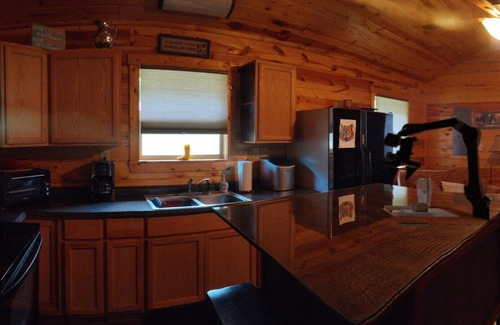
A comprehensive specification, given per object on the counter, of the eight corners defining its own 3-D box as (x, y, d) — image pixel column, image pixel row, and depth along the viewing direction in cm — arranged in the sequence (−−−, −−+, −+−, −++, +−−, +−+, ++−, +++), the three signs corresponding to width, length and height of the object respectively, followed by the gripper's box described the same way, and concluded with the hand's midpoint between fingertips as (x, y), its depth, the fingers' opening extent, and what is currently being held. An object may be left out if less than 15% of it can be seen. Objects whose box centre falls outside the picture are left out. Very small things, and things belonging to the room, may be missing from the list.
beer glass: (428, 207, 166) (428, 178, 165) (434, 210, 159) (435, 179, 158) (414, 207, 167) (414, 178, 166) (419, 209, 160) (420, 179, 159)
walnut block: (427, 213, 145) (428, 204, 145) (416, 213, 145) (416, 204, 145) (422, 211, 150) (423, 202, 150) (411, 211, 150) (411, 202, 150)
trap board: (460, 220, 138) (460, 213, 138) (394, 219, 140) (394, 212, 140) (439, 211, 155) (440, 205, 155) (382, 211, 157) (382, 205, 157)
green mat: (429, 226, 129) (429, 224, 128) (400, 226, 129) (400, 224, 129) (417, 219, 139) (417, 218, 139) (391, 219, 140) (391, 217, 140)
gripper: (406, 147, 168) (400, 176, 171) (378, 145, 161) (373, 176, 164) (424, 151, 158) (418, 182, 161) (396, 149, 151) (389, 181, 154)
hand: (399, 180), depth 160 cm, fingers open, 9 cm apart
